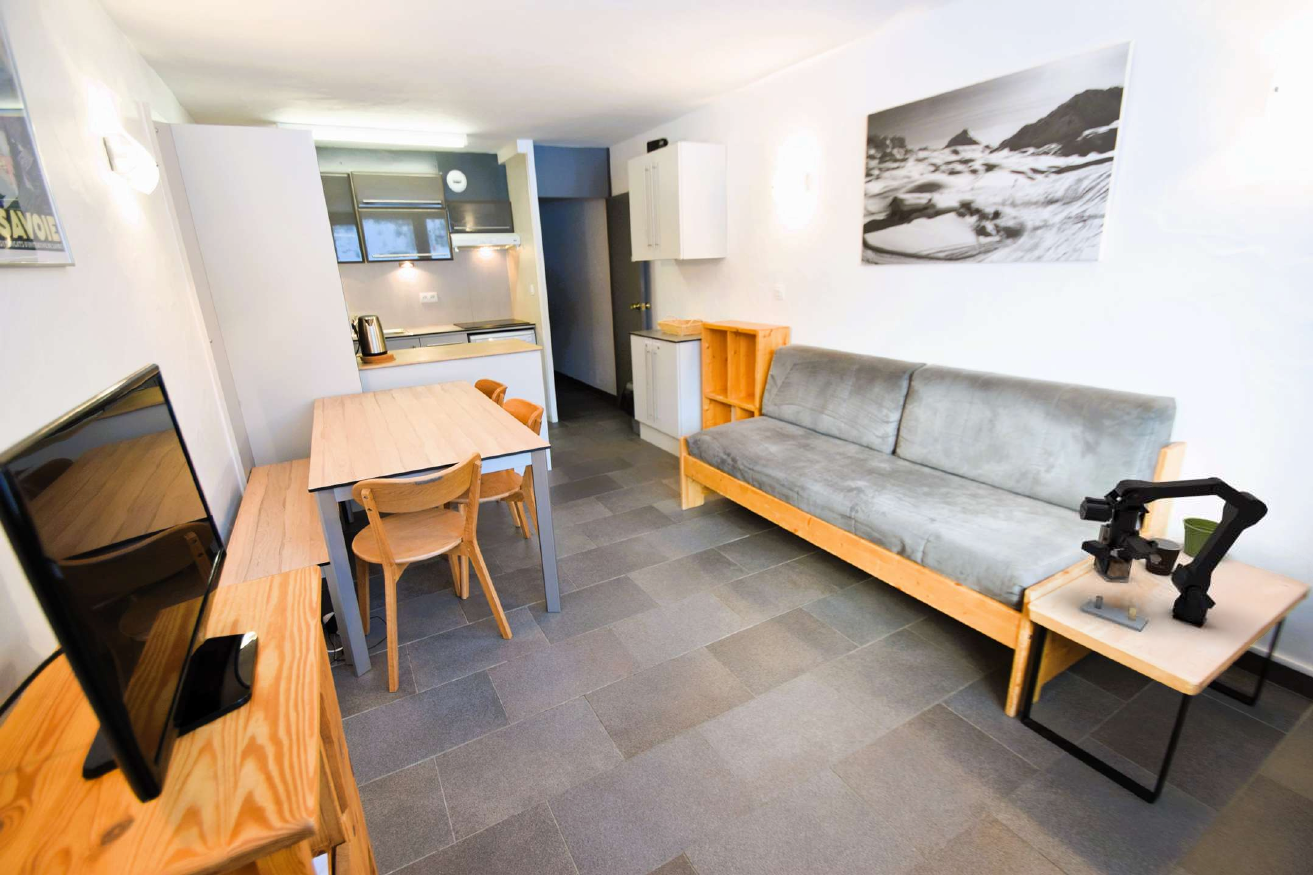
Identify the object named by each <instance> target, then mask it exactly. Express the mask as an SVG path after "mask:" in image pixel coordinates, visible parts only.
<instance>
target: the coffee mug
mask: <svg viewBox="0 0 1313 875" xmlns="http://www.w3.org/2000/svg"><path fill="white" fill-rule="evenodd" d="M1146 539H1147V540H1149V541H1150V540H1155V541H1156V542H1157V543H1158V549H1157V551H1156V554H1151V555H1150V557H1149V558H1148V559H1145V567H1144V569H1145V570H1146V571H1147V572H1148V573H1150V574H1153V575H1155V576H1161V577H1169V576H1171V574H1170V573H1172V572H1173V571H1174V567H1175V564H1176V562H1177V560H1178V558H1179V555H1180V552H1181V550H1182V548H1183V546H1182V545H1181V544H1180V543H1179V542H1177V541H1174V540H1170V539H1169V538H1168V539H1167V538H1162V537H1148V538H1146Z"/></svg>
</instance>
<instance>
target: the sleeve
mask: <svg viewBox="0 0 1313 875" xmlns="http://www.w3.org/2000/svg"><path fill="white" fill-rule="evenodd" d="M1115 557H1116V556H1115ZM1129 565H1130V564H1129V563H1127V562H1126V561H1124V560H1122V559H1120V558H1118V557H1117V558H1115V559H1112V560H1111V563H1110V566H1109V569H1108V572H1107V574H1104V573H1102V571H1101V568H1100V565H1099V566H1098V570H1097V571H1096V573H1097V574H1098V575H1100V574H1101V575H1102V576H1104V577H1106V578H1108V579H1109V580H1111V581H1113V580H1122V579H1126V577H1127V573H1128V569H1129ZM1101 575H1100V576H1101ZM1102 576H1101V577H1102ZM1111 581H1110V582H1111Z"/></svg>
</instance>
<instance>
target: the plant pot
mask: <svg viewBox="0 0 1313 875" xmlns="http://www.w3.org/2000/svg"><path fill="white" fill-rule="evenodd" d="M1182 523H1183V528H1184V541H1183V543H1184V544H1183V552H1184V553H1185V554H1186V555H1190V557H1193V558H1195V556H1196V555H1197V554H1198V552H1199V551H1200V549H1201V548H1202V547H1203V545H1204V544H1205V542H1206V541H1207V540H1208V538H1209V537H1210V535H1211V534H1212V533H1213V531H1214V530H1215V529H1216V527H1217V526H1218V524H1219V523H1220V522H1217V521H1214V520H1211V519H1207V518H1200V517H1186V518H1183V519H1182Z"/></svg>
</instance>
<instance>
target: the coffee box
mask: <svg viewBox="0 0 1313 875" xmlns="http://www.w3.org/2000/svg"><path fill="white" fill-rule="evenodd" d="M1108 531H1109V528H1107V527H1106V524H1100V528H1099V533H1098V538H1097V541H1099V542H1101V543H1103V544H1106V543H1107V542H1106V541H1104V540H1103V537H1104V536H1108ZM1113 556H1116V557H1117V550H1114V552H1113ZM1133 561H1134V559H1132V560H1131V562H1130V563H1129V564H1130V565H1129V569H1128V573H1127V577H1126V579H1122V580H1113V581H1111V580H1109V579H1108V578H1106V577H1104V576H1102V575H1101V574H1099V575H1100V576H1101V578H1103V579H1104V580H1105V581H1106V582H1112V583H1113V582H1114V583H1124V584H1125V583H1126V584H1127V583H1128V582H1129V578H1130V573H1131V569H1132V566H1133ZM1093 566H1094V569H1095V572H1097V570H1098V566H1099V562H1098V560H1097V557H1095V556H1094V560H1093V564H1092V567H1093ZM1094 569H1093V570H1094Z"/></svg>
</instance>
